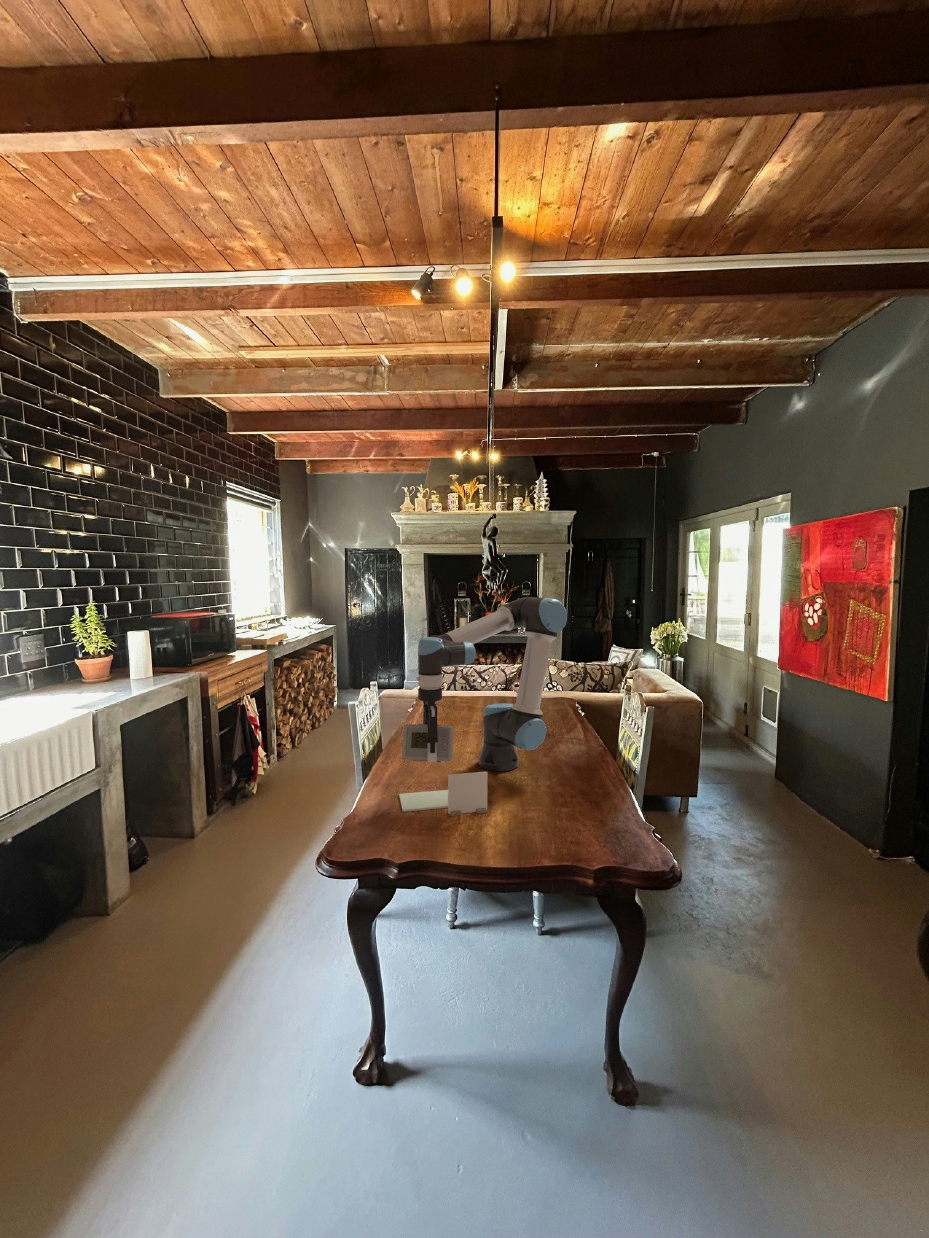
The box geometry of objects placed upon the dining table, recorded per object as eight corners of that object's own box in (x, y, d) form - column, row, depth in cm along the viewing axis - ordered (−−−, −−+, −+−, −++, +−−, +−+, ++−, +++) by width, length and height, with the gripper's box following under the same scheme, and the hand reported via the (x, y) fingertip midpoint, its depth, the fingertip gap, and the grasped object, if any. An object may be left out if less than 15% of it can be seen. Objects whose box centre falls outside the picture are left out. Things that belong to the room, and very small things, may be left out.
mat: (456, 790, 179) (456, 789, 179) (463, 806, 167) (463, 804, 167) (399, 795, 175) (399, 793, 175) (402, 811, 163) (402, 809, 163)
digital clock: (399, 760, 168) (398, 727, 167) (410, 751, 176) (410, 719, 175) (447, 766, 163) (448, 732, 162) (457, 756, 171) (457, 724, 170)
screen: (485, 807, 166) (485, 770, 165) (488, 812, 163) (488, 774, 162) (447, 810, 164) (447, 772, 163) (449, 816, 160) (449, 777, 159)
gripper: (414, 680, 177) (414, 747, 179) (422, 695, 157) (422, 770, 159) (436, 680, 179) (436, 746, 181) (447, 694, 158) (447, 768, 160)
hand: (430, 757), depth 170 cm, fingers closed on digital clock, 8 cm apart
